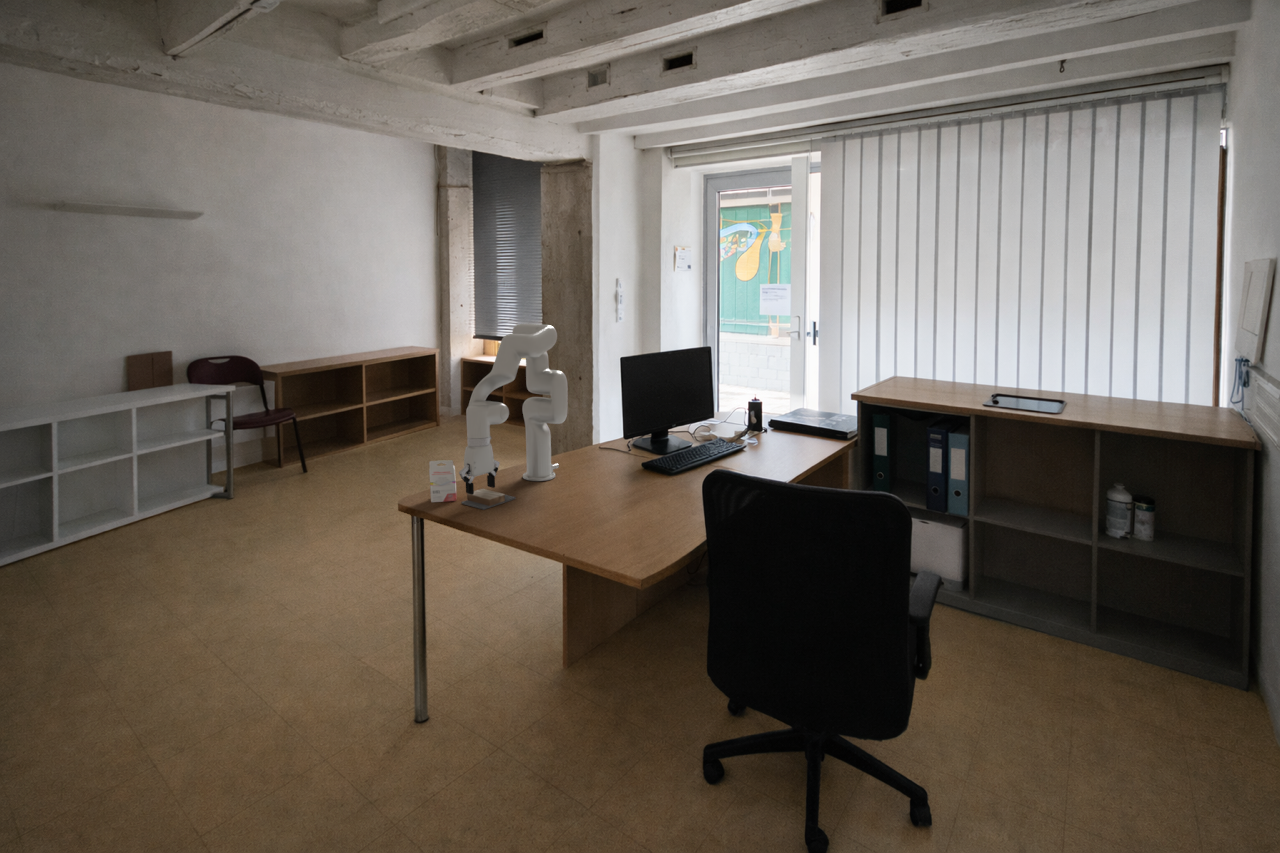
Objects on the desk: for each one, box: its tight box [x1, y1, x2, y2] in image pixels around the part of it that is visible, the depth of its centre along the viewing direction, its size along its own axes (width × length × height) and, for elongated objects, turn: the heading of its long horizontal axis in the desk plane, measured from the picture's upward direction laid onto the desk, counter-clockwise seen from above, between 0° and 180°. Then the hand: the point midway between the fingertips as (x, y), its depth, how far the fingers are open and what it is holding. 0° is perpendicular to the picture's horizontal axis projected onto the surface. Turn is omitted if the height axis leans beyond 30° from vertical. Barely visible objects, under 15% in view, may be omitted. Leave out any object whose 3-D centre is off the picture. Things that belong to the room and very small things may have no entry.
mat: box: [460, 494, 517, 510], centre depth 245 cm, size 15×11×1 cm
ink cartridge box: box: [428, 459, 458, 503], centre depth 245 cm, size 9×5×15 cm, turn 101°
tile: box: [466, 488, 506, 506], centre depth 244 cm, size 2×11×7 cm
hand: (480, 490), depth 241 cm, fingers open, 9 cm apart
